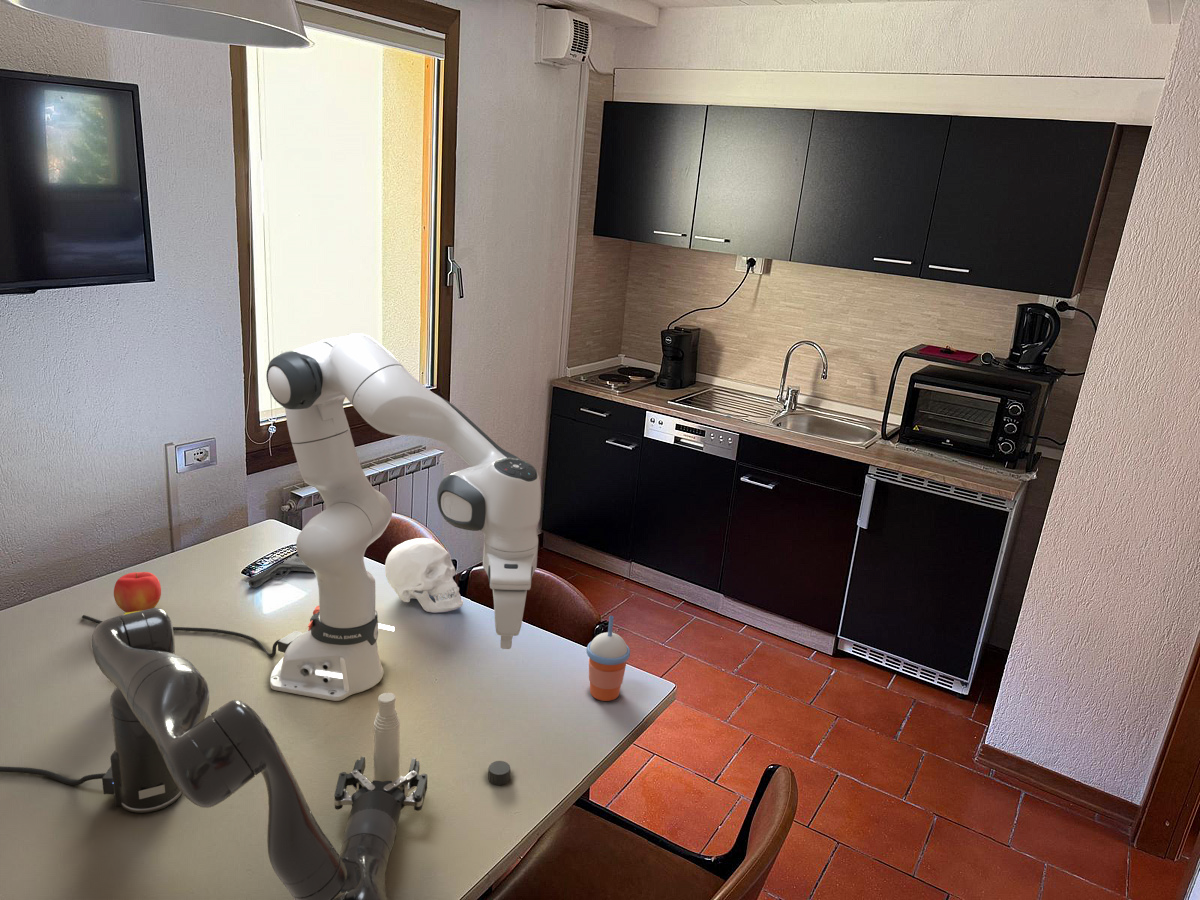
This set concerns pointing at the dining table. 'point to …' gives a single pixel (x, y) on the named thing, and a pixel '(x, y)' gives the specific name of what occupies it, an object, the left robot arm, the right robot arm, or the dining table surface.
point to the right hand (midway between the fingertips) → (505, 632)
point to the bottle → (386, 740)
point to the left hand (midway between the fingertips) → (388, 761)
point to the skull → (423, 575)
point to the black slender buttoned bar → (280, 571)
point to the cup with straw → (607, 664)
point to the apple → (137, 591)
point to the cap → (499, 772)
